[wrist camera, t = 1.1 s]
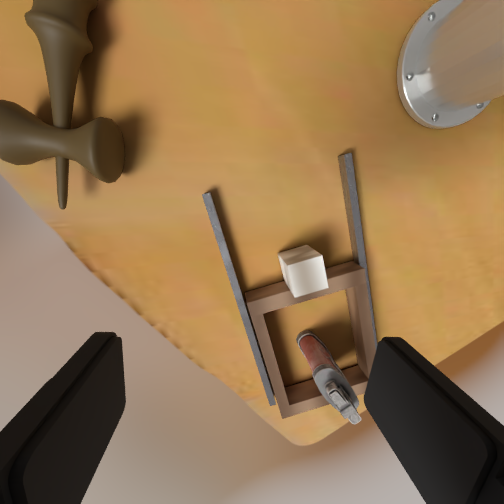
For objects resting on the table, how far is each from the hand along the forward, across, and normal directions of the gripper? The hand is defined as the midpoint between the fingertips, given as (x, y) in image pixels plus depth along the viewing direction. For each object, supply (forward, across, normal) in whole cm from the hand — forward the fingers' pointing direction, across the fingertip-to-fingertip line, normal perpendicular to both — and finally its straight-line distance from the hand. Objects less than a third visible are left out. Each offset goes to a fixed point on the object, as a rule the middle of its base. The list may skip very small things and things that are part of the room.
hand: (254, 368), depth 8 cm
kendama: (+22, +17, -13) cm, 31 cm away
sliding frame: (+21, -11, +12) cm, 27 cm away
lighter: (+22, -13, +16) cm, 30 cm away
